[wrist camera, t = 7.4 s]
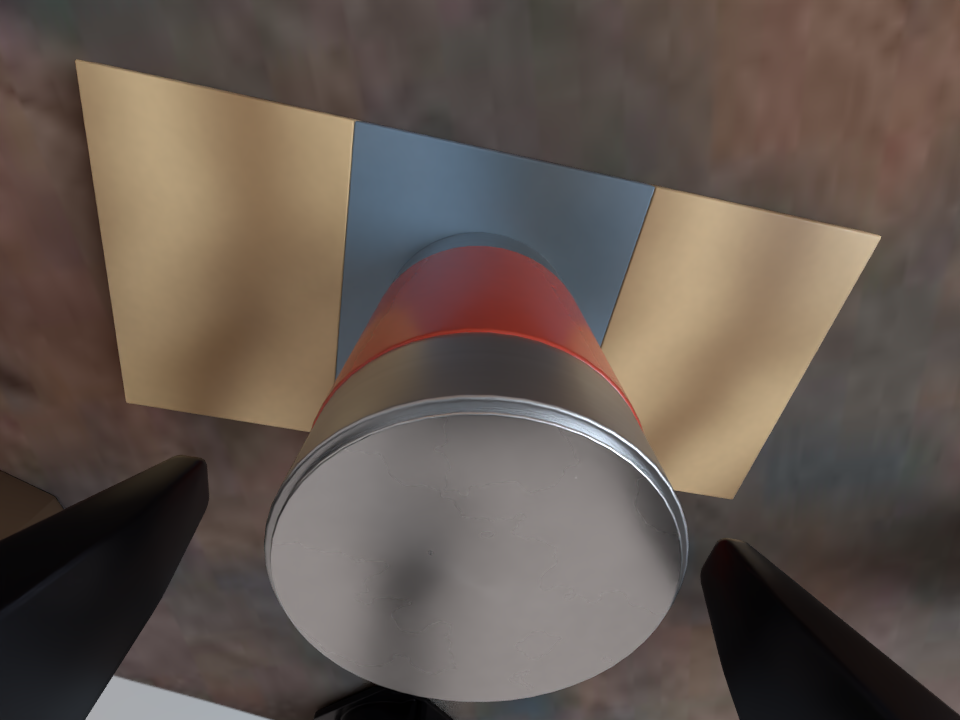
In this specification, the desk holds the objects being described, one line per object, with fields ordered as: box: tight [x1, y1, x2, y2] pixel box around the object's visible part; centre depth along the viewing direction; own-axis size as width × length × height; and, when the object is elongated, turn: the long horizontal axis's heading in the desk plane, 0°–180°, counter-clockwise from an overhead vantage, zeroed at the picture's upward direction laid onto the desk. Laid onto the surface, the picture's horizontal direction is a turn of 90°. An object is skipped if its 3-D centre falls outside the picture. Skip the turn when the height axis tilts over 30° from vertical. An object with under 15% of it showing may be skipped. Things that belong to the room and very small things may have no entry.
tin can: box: [264, 233, 689, 702], centre depth 12 cm, size 6×6×10 cm
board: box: [75, 60, 881, 499], centre depth 17 cm, size 24×11×1 cm, turn 79°
